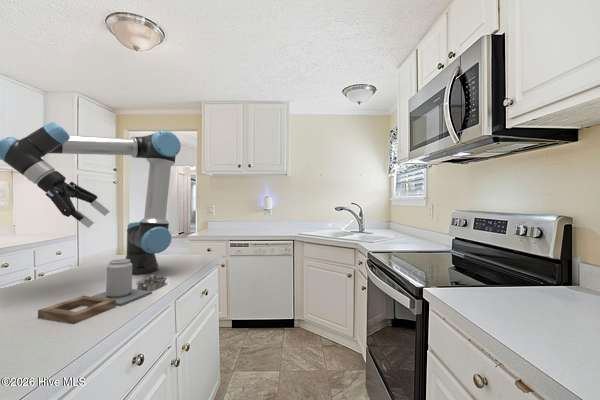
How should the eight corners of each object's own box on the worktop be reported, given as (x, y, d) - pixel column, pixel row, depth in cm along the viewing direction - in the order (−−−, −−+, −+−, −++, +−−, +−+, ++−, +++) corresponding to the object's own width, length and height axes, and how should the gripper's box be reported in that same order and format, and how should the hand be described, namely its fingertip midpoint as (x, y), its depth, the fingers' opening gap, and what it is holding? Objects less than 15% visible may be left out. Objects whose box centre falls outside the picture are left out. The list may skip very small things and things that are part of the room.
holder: (83, 302, 93) (83, 295, 93) (115, 306, 89) (115, 299, 89) (37, 317, 80) (38, 310, 80) (73, 323, 77) (73, 315, 77)
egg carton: (151, 292, 105) (152, 281, 105) (133, 291, 106) (133, 280, 106) (168, 284, 116) (169, 274, 116) (151, 282, 116) (152, 272, 116)
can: (119, 299, 94) (120, 263, 94) (100, 297, 95) (101, 261, 95) (136, 292, 101) (137, 258, 101) (118, 290, 103) (119, 257, 103)
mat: (118, 289, 106) (118, 287, 106) (151, 293, 103) (151, 291, 103) (84, 301, 94) (84, 298, 94) (120, 306, 90) (120, 303, 90)
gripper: (59, 178, 109) (106, 215, 116) (11, 193, 86) (75, 238, 93) (73, 165, 109) (120, 203, 116) (30, 176, 86) (92, 223, 93)
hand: (100, 218), depth 105 cm, fingers open, 13 cm apart
